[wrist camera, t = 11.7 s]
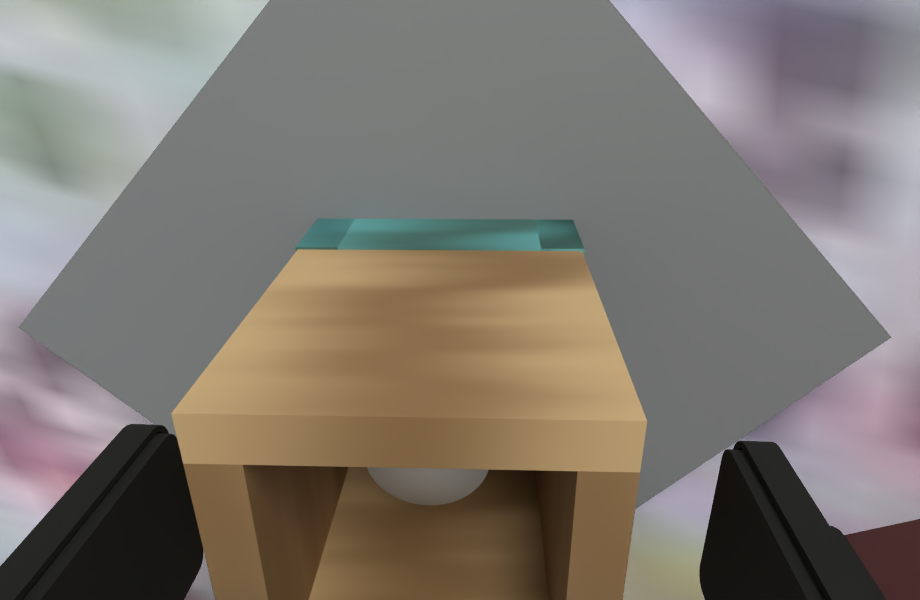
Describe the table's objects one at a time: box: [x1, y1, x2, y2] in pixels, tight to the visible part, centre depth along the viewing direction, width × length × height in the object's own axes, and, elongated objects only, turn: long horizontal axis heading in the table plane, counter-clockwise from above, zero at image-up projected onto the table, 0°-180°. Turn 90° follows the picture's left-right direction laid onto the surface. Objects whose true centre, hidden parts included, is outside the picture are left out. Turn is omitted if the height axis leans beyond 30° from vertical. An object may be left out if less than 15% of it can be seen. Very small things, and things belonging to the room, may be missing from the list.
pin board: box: [19, 0, 891, 509], centre depth 15 cm, size 16×16×6 cm
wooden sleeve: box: [171, 218, 647, 600], centre depth 13 cm, size 6×6×8 cm
